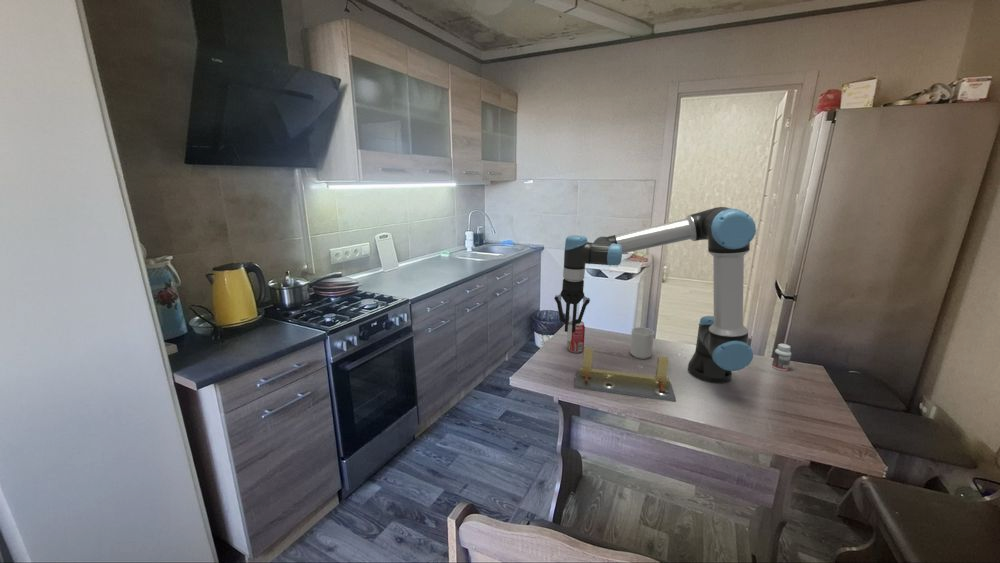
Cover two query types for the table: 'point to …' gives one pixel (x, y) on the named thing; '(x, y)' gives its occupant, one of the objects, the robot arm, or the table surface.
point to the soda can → (577, 339)
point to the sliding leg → (587, 362)
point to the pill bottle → (782, 357)
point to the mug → (641, 342)
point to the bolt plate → (630, 382)
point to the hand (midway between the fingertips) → (569, 339)
